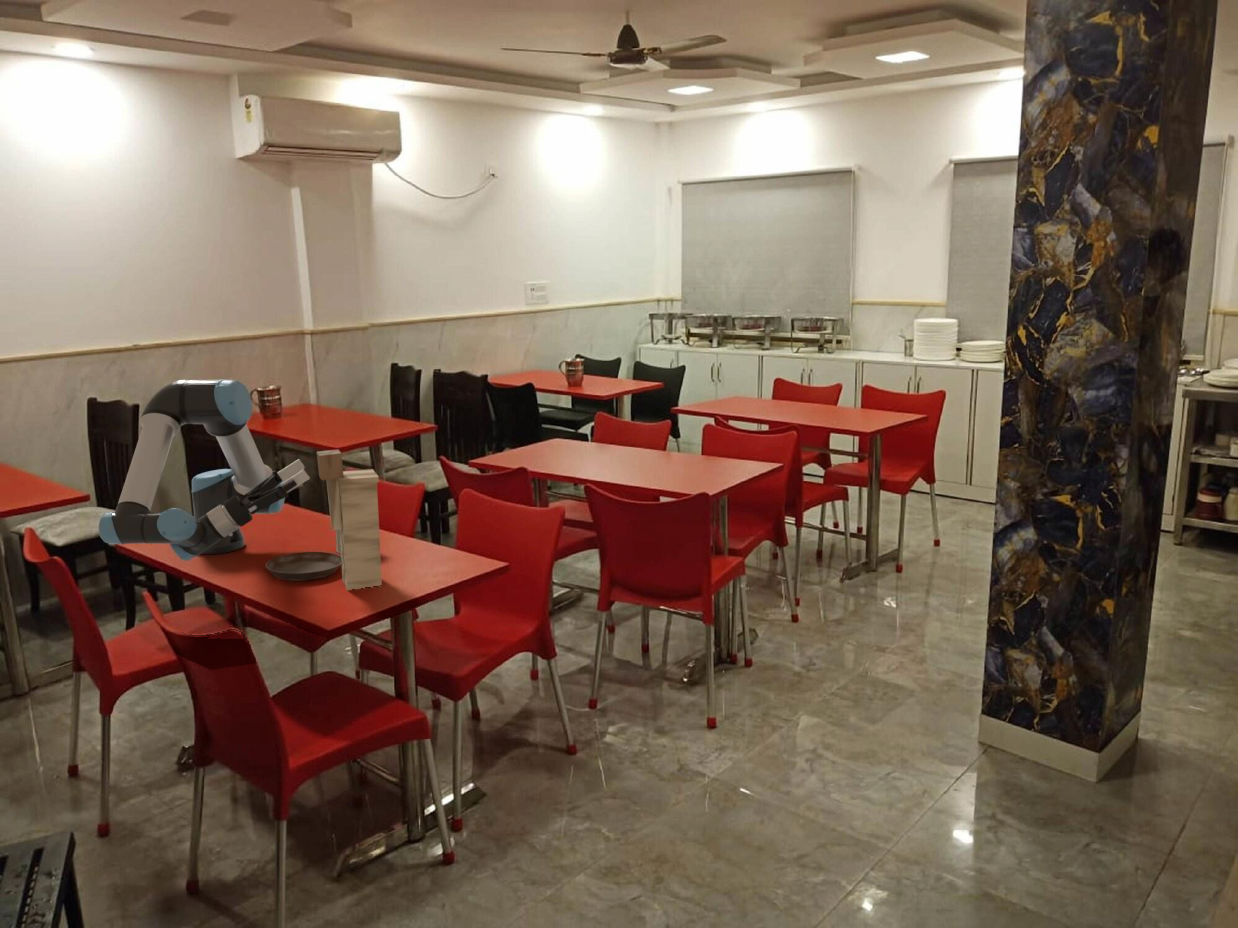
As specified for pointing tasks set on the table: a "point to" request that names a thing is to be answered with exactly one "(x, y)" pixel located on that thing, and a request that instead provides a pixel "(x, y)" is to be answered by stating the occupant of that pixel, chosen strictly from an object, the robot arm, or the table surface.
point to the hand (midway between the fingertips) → (304, 468)
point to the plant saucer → (304, 565)
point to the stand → (359, 529)
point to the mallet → (332, 482)
